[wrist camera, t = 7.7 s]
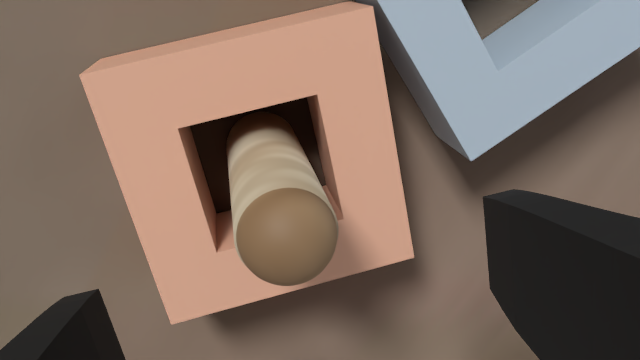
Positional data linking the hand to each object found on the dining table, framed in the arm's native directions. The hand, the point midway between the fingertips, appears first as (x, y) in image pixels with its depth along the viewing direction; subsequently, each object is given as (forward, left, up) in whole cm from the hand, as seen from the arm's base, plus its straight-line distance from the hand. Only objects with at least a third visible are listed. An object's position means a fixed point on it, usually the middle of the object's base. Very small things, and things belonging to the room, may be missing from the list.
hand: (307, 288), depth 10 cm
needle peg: (0, 0, -10) cm, 10 cm away
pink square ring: (0, 0, -10) cm, 10 cm away
